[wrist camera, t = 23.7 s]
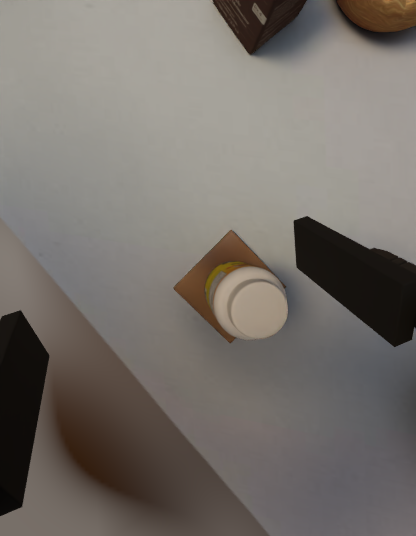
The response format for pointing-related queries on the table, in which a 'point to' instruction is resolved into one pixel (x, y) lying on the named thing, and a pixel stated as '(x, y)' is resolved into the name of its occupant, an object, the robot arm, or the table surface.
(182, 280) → the coaster
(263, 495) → the table surface
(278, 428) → the table surface
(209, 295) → the supplement bottle
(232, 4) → the box
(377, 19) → the pastry
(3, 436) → the robot arm
